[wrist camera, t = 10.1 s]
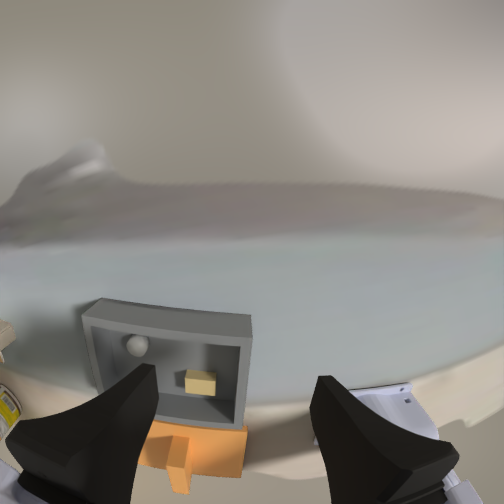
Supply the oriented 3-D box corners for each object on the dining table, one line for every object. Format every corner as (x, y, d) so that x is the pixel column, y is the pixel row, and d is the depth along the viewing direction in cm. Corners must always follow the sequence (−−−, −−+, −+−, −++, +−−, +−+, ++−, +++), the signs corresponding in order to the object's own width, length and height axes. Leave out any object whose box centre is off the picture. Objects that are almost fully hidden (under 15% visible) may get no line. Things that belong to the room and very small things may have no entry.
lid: (247, 419, 23) (248, 464, 17) (240, 466, 25) (241, 504, 19) (124, 402, 22) (105, 441, 17) (138, 452, 24) (127, 487, 19)
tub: (250, 314, 20) (252, 337, 17) (241, 402, 22) (242, 429, 19) (102, 297, 20) (81, 315, 16) (115, 384, 21) (102, 406, 18)
